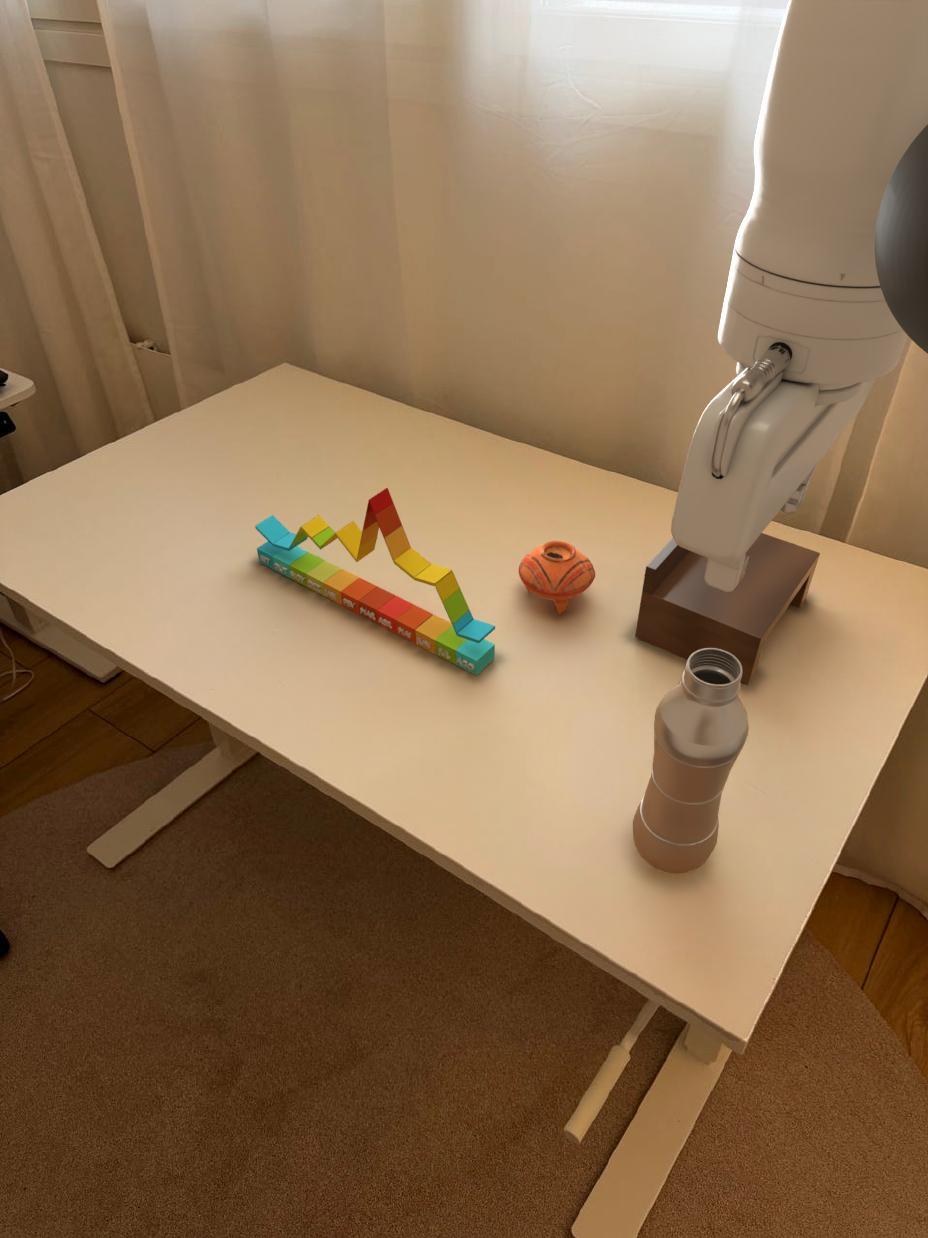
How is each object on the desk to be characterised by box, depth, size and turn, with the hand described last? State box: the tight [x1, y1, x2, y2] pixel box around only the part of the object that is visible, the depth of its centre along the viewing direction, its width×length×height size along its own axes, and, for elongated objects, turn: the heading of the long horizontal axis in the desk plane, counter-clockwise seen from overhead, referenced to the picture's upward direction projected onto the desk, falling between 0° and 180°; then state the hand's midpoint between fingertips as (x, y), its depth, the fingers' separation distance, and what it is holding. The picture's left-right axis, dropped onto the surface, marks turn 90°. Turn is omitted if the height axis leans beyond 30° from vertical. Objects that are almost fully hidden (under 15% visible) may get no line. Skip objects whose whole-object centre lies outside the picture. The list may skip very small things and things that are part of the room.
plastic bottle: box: [632, 648, 750, 875], centre depth 65 cm, size 6×7×20 cm
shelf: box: [634, 532, 821, 686], centre depth 90 cm, size 12×16×9 cm
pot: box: [518, 540, 596, 615], centre depth 93 cm, size 8×8×7 cm
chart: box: [254, 487, 496, 676], centre depth 89 cm, size 30×3×15 cm, turn 53°
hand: (755, 542), depth 53 cm, fingers open, 8 cm apart
